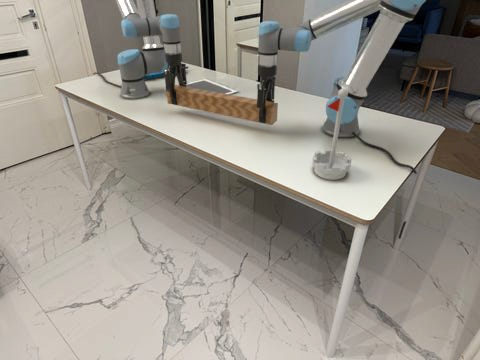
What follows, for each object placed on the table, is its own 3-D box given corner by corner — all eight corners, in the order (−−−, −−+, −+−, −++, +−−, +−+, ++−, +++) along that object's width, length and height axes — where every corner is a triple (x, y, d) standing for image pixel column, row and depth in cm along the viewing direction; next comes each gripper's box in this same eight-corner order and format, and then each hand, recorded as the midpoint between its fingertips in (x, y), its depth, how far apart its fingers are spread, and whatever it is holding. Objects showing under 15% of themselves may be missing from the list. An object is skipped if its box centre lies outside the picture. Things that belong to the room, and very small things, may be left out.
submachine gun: (173, 60, 241) (193, 66, 225) (174, 66, 243) (193, 71, 227) (128, 69, 223) (145, 75, 206) (129, 75, 225) (146, 82, 208)
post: (277, 120, 146) (278, 102, 142) (271, 125, 142) (272, 107, 138) (174, 100, 169) (172, 84, 165) (167, 103, 165) (165, 87, 161)
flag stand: (334, 159, 128) (348, 80, 112) (356, 176, 118) (375, 92, 101) (304, 166, 124) (314, 84, 108) (324, 184, 114) (338, 97, 97)
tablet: (177, 86, 203) (177, 85, 202) (205, 79, 214) (205, 78, 213) (209, 100, 182) (209, 99, 182) (238, 91, 193) (238, 91, 193)
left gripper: (179, 47, 161) (183, 95, 173) (152, 56, 147) (159, 107, 160) (192, 49, 157) (195, 97, 170) (166, 58, 144) (172, 110, 157)
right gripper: (267, 58, 141) (265, 111, 154) (248, 69, 127) (247, 126, 140) (284, 60, 139) (281, 113, 151) (266, 71, 125) (264, 129, 137)
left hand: (178, 102), depth 165 cm, fingers closed on post, 5 cm apart
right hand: (265, 119), depth 146 cm, fingers closed on post, 6 cm apart
